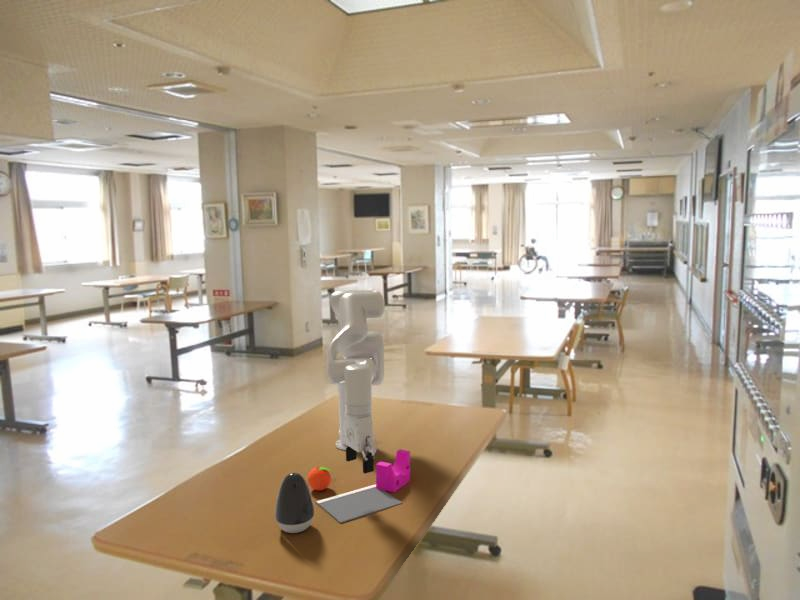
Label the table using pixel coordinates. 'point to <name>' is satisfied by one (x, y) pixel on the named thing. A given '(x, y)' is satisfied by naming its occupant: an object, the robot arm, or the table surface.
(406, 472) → the toy block
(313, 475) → the clementine
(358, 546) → the table surface
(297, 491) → the dark grey rounded cone
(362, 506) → the mat
